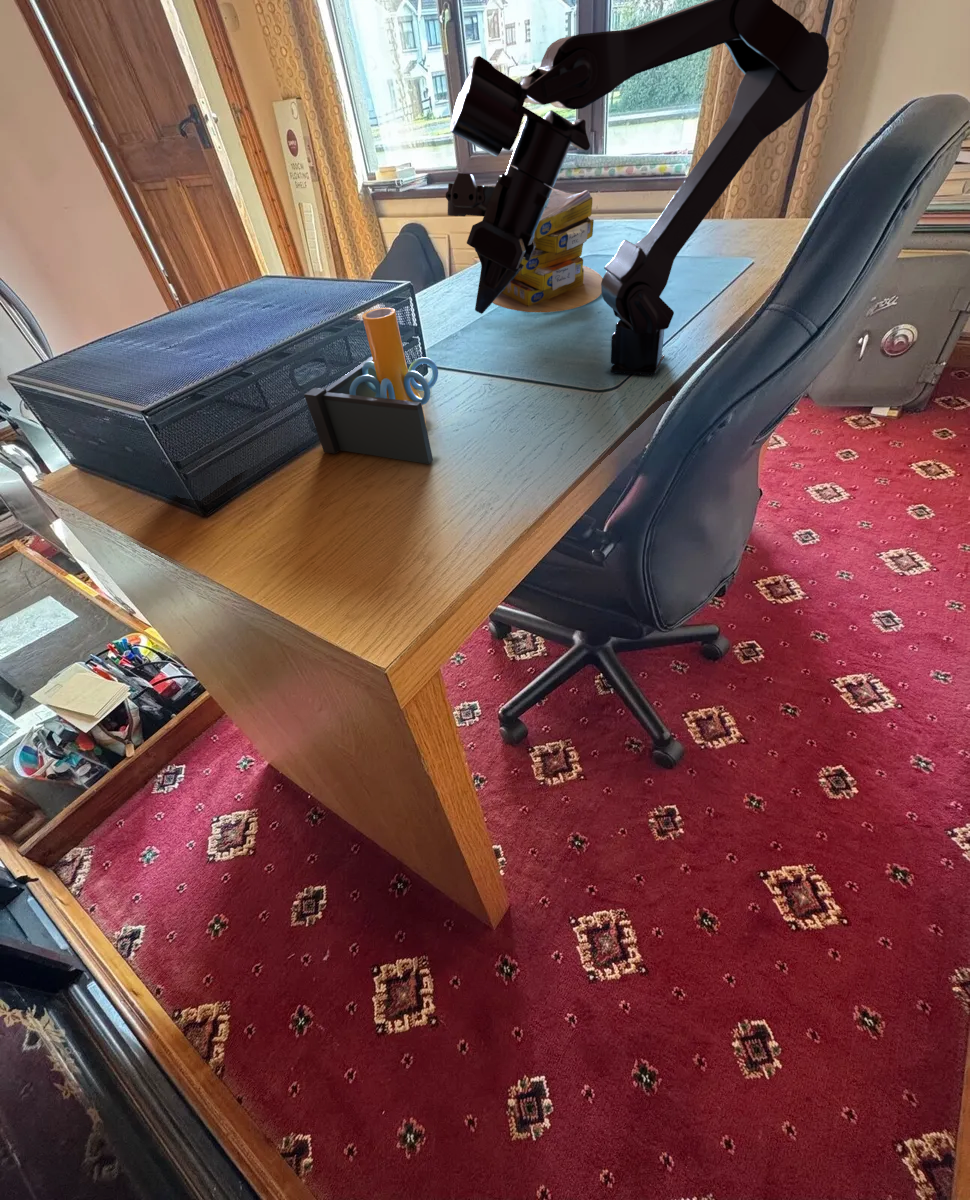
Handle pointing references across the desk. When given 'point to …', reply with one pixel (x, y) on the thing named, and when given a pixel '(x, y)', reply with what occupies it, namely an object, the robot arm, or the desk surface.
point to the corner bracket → (368, 421)
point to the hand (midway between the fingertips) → (478, 311)
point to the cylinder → (392, 361)
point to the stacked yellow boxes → (556, 260)
